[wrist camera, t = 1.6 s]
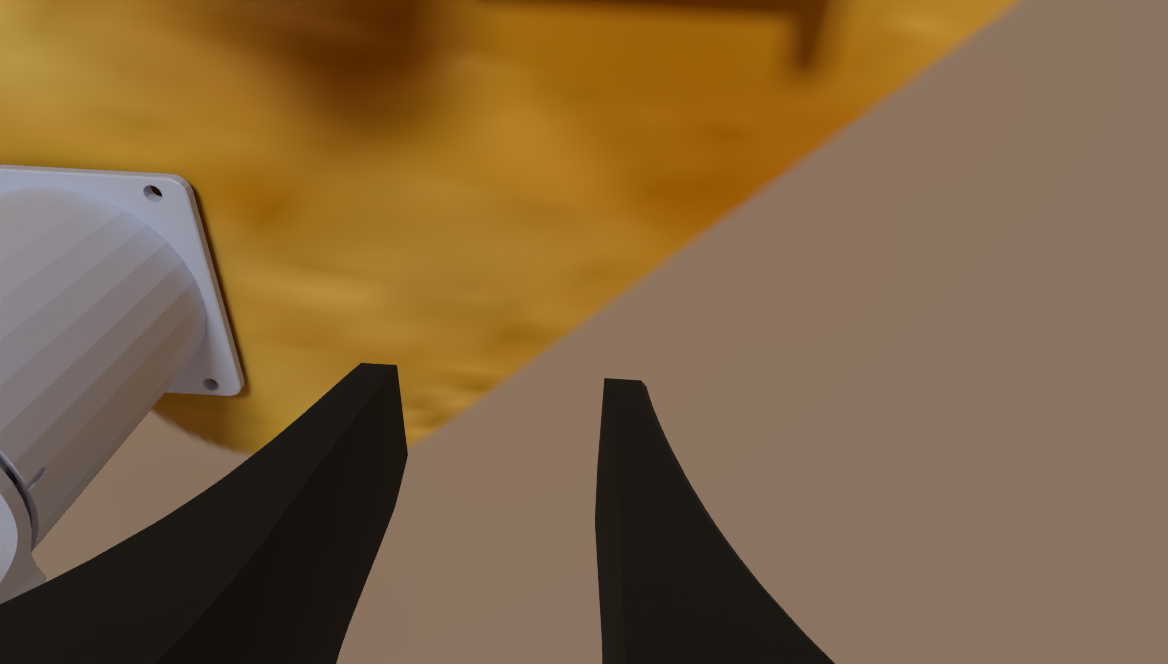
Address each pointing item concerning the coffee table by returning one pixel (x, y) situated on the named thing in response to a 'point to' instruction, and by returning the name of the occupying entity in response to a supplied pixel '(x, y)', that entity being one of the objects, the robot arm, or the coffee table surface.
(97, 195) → the robot arm
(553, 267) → the coffee table surface
